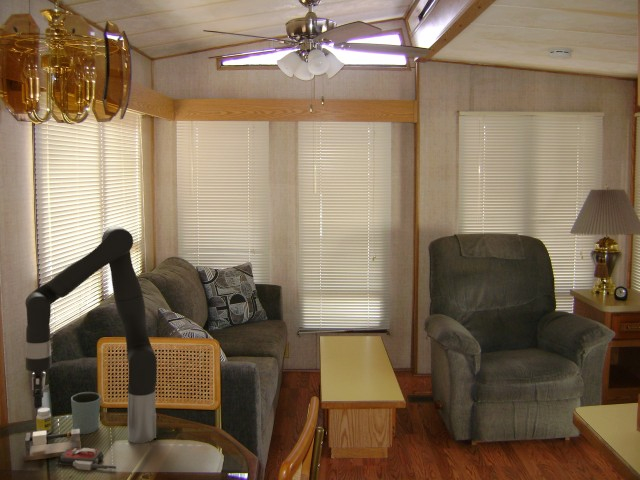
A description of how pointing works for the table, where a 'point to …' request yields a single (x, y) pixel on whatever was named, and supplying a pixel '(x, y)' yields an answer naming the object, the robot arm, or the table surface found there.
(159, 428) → the table surface
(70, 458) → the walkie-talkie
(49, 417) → the supplement bottle
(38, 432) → the sleeve
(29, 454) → the linear slider rail
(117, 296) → the robot arm
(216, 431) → the table surface
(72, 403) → the blue-grey cylindrical pot
